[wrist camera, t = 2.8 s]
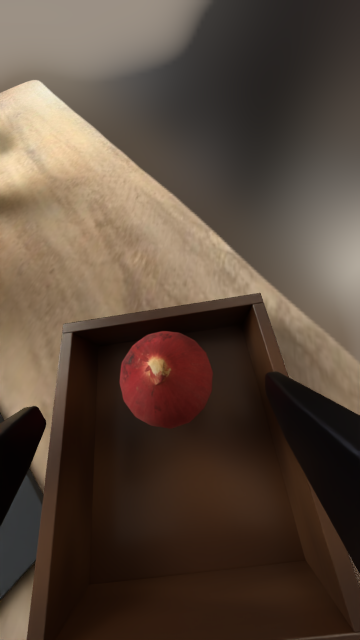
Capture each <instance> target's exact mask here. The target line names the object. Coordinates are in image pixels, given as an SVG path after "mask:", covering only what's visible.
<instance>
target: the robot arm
mask: <svg viewBox="0 0 360 640" xmlns="http://www.w3.org/2000/svg"><path fill="white" fill-rule="evenodd" d="M265 391H266V395H267V398H268V400H269V402H270V405H271V407H272V409H273V412H274V414H275V416H276V419H277V421H278V423H279V426H280V428H281V430H282V433H283V435H284V437H285V439H286V441H287V443H288V444H289V446H290V448H291V450H292V452H293V454H294V455H295V457H296V459H297V461H298V463H299V464H300V466H301V468H302V470H303V472H304V473H305V475H306V477H307V479H308V481H309V483H310V484H311V486H312V488H313V490H314V492H315V493H316V495H317V497H318V499H319V501H320V502H321V504H322V506H323V508H324V510H325V512H326V513H327V515H328V517H329V519H330V521H331V522H332V524H333V526H334V528H335V530H336V531H337V533H338V535H339V537H340V539H341V541H342V542H343V544H344V546H345V548H346V550H347V551H348V553H349V555H350V557H351V559H352V560H353V562H354V564H355V566H356V568H357V569H358V571H359V573H360V415H358V414H356V413H354V412H352V411H350V410H349V409H347V408H345V407H343V406H341V405H339V404H337V403H336V402H334V401H332V400H330V399H328V398H326V397H324V396H323V395H321V394H319V393H317V392H315V391H313V390H311V389H309V388H308V387H306V386H304V385H302V384H300V383H298V382H296V381H295V380H293V379H291V378H289V377H287V376H285V375H283V374H282V373H280V372H277V371H275V372H268V373H266V376H265ZM45 427H46V420H45V418H44V417H43V415H42V413H41V411H40V410H39V408H38V407H36V406H32V407H26V408H23V409H22V410H20V411H19V412H17V413H16V414H14V415H12V416H11V417H9V418H8V419H6V420H5V421H3V422H2V423H0V527H1V525H2V523H3V521H4V519H5V517H6V514H7V512H8V510H9V508H10V506H11V504H12V502H13V500H14V498H15V496H16V494H17V492H18V490H19V488H20V486H21V484H22V482H23V480H24V478H25V476H26V474H27V472H28V469H29V467H30V465H31V462H32V460H33V457H34V455H35V452H36V450H37V447H38V445H39V442H40V440H41V437H42V435H43V432H44V430H45Z"/></svg>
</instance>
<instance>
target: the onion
mask: <svg viewBox="0 0 360 640" xmlns="http://www.w3.org/2000/svg"><path fill="white" fill-rule="evenodd" d="M212 378H213V371H212V368H211V365H210V362H209V359H208V356H207V354H206V352H205V351H204V350H203V349H202V348H201V347H200V346H199V345H198V343H197V342H196V341H195V340H193V339H191V338H189V337H187V336H185V335H183V334H181V333H178V332H169V331H161V332H157V333H153V334H148V335H146V336H145V337H143V338H142V339H141V340H139V341H138V342H137V343H135V344H134V345H133V346H132V347H131V349H130V350H129V352H128V354H127V355H126V357H125V358H124V360H123V361H122V364H121V373H120V387H121V391H122V395H123V400H124V402H125V403H126V405H127V406H128V407H129V409H130V410H131V412H132V413H133V414H134V416H135V417H137V418H138V419H140V420H142V421H144V422H146V423H147V424H149V425H151V426H156V427H163V428H169V429H171V428H175V427H177V426H180V425H183V424H186V423H189V422H191V421H192V420H193V419H194V418H195V417H196V416H197V415H198V414H199V413H200V412H201V411H202V410H203V409H204V407H205V405H206V403H207V401H208V398H209V396H210V394H211V392H212Z"/></svg>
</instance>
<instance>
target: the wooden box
mask: <svg viewBox="0 0 360 640" xmlns="http://www.w3.org/2000/svg"><path fill="white" fill-rule="evenodd" d="M161 331H169V332H178V333H181V334H183V335H185V336H187V337H189V338H191V339H193V340H195V341H196V342H197V343H198V345H199V346H200V347H201V348H202V349H203V350H204V351H205V352H206V354H207V356H208V359H209V362H210V365H211V368H212V371H213V378H212V392H211V394H210V396H209V398H208V401H207V403H206V405H205V407H204V409H203V410H202V411H201V412H200V413H199V414H198V415H197V416H196V417H195V418H194V419H193V420H192V421H191V422H189V423H186V424H183V425H180V426H177V427H175V428H171V429H169V428H163V427H156V426H151V425H149V424H147V423H146V422H144V421H142V420H140V419H138V418H137V417H135V416H134V414H133V413H132V412H131V410H130V409H129V407H128V406H127V405H126V403H125V402H124V400H123V395H122V391H121V387H120V373H121V364H122V361H123V360H124V358H125V357H126V355H127V354H128V352H129V350H130V349H131V347H132V346H133V345H134V344H135V343H137V342H138V341H139V340H141V339H142V338H143V337H145V336H146V335H148V334H153V333H157V332H161ZM62 333H63V334H62V339H61V348H60V356H59V365H58V374H57V382H56V391H55V400H54V408H53V417H52V426H51V434H50V443H49V452H48V460H47V469H46V478H45V486H44V495H43V504H42V512H41V521H40V530H39V538H38V547H37V556H36V564H35V573H34V582H33V590H32V599H31V608H30V616H29V625H28V634H27V640H360V588H359V585H358V582H357V579H356V576H355V573H354V570H353V567H352V564H351V561H350V558H349V555H348V552H347V550H346V548H345V546H344V544H343V542H342V541H341V539H340V537H339V535H338V533H337V531H336V530H335V528H334V526H333V524H332V522H331V521H330V519H329V517H328V515H327V513H326V512H325V510H324V508H323V506H322V504H321V502H320V501H319V499H318V497H317V495H316V493H315V492H314V490H313V488H312V486H311V484H310V483H309V481H308V479H307V477H306V475H305V473H304V472H303V470H302V468H301V466H300V464H299V463H298V461H297V459H296V457H295V455H294V454H293V452H292V450H291V448H290V446H289V444H288V443H287V441H286V439H285V437H284V435H283V433H282V430H281V428H280V426H279V423H278V421H277V419H276V416H275V414H274V412H273V409H272V407H271V405H270V402H269V400H268V398H267V395H266V391H265V376H266V373H268V372H275V371H277V372H280V373H282V374H283V375H285V376H287V377H288V374H287V371H286V368H285V365H284V362H283V359H282V356H281V353H280V350H279V347H278V344H277V341H276V338H275V335H274V332H273V329H272V326H271V323H270V320H269V317H268V314H267V311H266V308H265V305H264V303H263V299H262V296H261V293H257V294H251V295H244V296H238V297H232V298H225V299H219V300H212V301H206V302H200V303H193V304H187V305H181V306H174V307H168V308H161V309H155V310H149V311H142V312H136V313H129V314H123V315H117V316H110V317H104V318H98V319H91V320H85V321H78V322H72V323H66V324H63V332H62Z"/></svg>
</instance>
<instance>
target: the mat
mask: <svg viewBox="0 0 360 640" xmlns="http://www.w3.org/2000/svg"><path fill="white" fill-rule="evenodd" d="M3 421H4V419H3V417H2V415H1V413H0V423H2V422H3ZM42 504H43V494H42V492H41V490H40V488H39V486H38V484H37V482H36V480H35V478H34V476H33V474H32V472H31V471H30V469H28V472H27V474H26V476H25V478H24V480H23V482H22V484H21V486H20V488H19V490H18V492H17V494H16V496H15V498H14V500H13V502H12V504H11V506H10V508H9V510H8V512H7V514H6V517H5V519H4V521H3V523H2V525H1V527H0V600H1V599H2V598H3V597H4V596H5V594H6V593H7V592H8V591H9V590H10V589H11V588H12V587H13V586H14V584H15V583H16V582H17V581H18V580H19V579H20V578H21V577H22V576H23V575H24V573H25V572H26V571H27V570H28V569H29V568H30V567H31V566H32V565H33V564H34V562H35V561H36V556H37V547H38V538H39V530H40V521H41V512H42Z"/></svg>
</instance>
